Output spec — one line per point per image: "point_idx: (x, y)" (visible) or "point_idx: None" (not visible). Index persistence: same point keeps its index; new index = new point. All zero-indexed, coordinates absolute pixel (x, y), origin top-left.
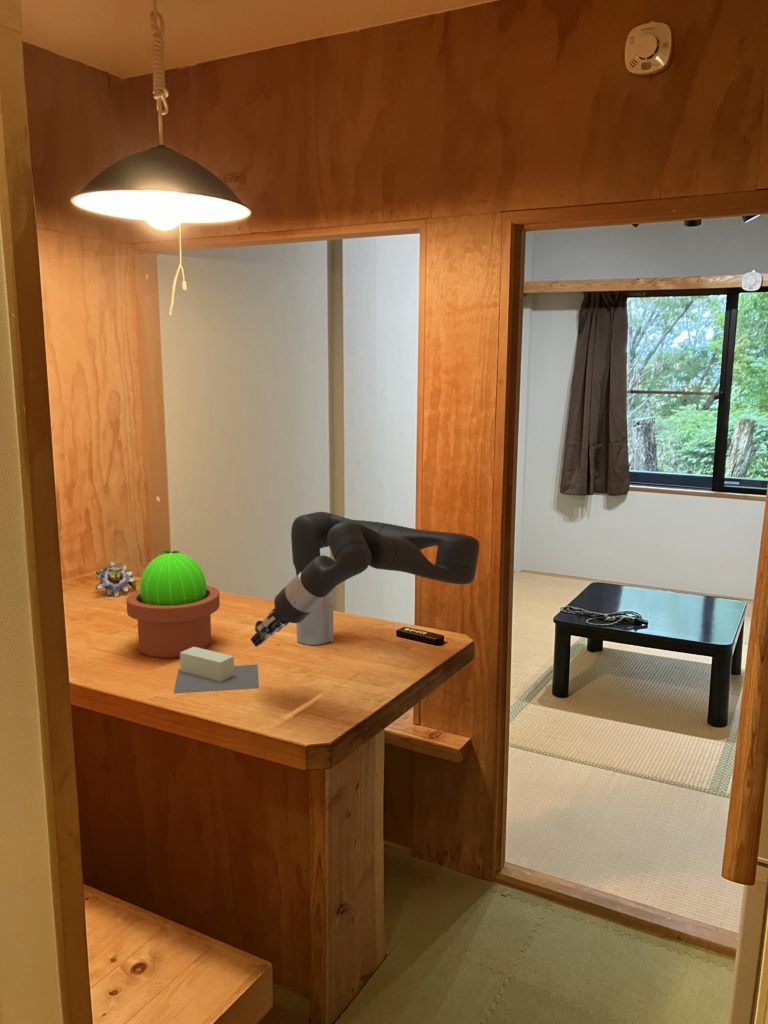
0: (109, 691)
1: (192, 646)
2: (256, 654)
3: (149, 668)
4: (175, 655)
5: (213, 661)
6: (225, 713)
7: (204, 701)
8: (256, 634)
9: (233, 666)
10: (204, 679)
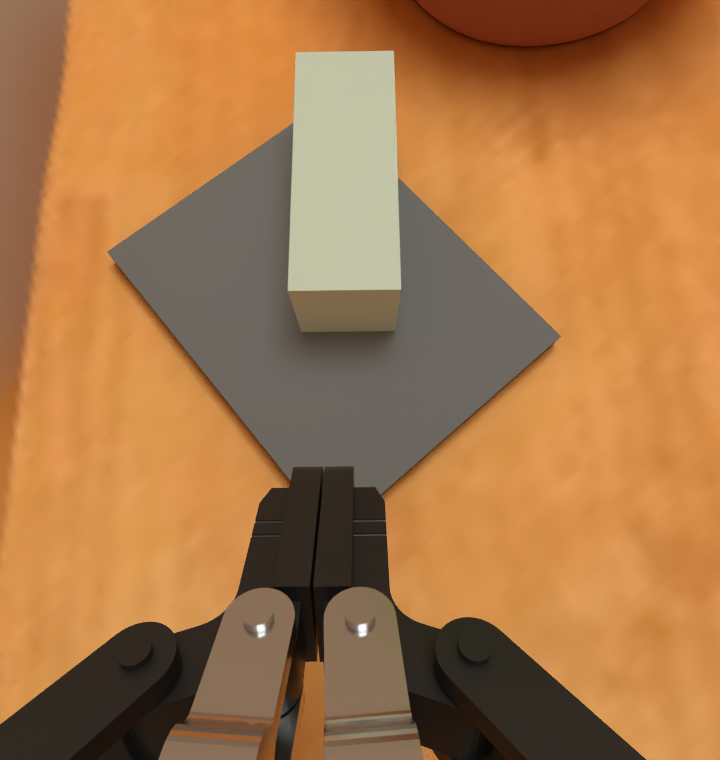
0: (68, 48)
1: (497, 8)
2: (677, 232)
3: (302, 11)
4: (429, 6)
5: (289, 248)
6: (70, 555)
7: (139, 388)
8: (244, 566)
9: (393, 313)
10: (285, 257)
